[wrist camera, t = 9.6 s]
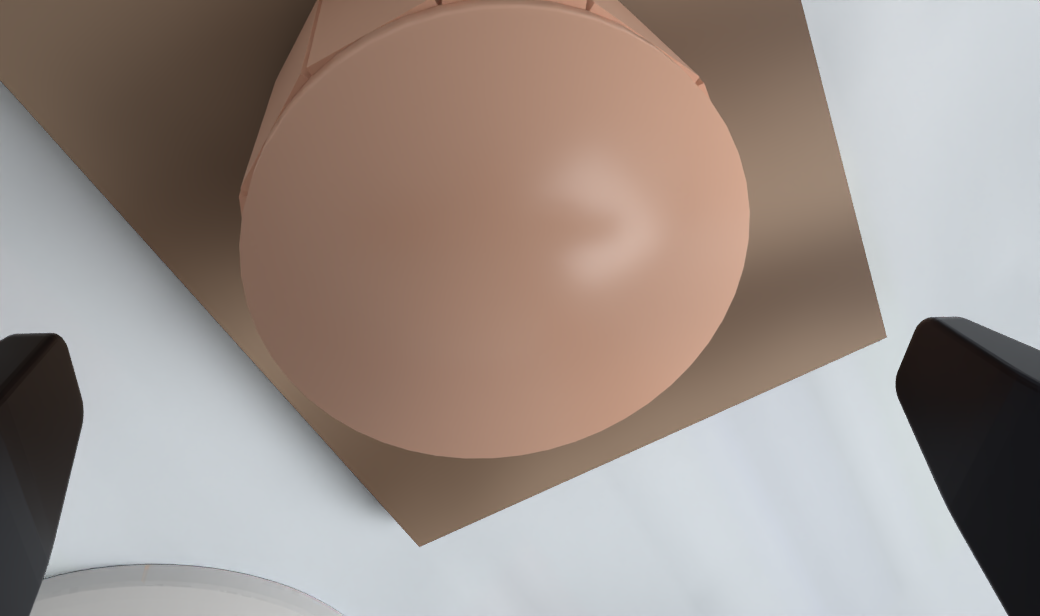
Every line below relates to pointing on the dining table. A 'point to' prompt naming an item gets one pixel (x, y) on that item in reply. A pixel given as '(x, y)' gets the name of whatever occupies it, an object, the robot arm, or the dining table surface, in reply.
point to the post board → (234, 129)
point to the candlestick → (171, 594)
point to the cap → (488, 220)
